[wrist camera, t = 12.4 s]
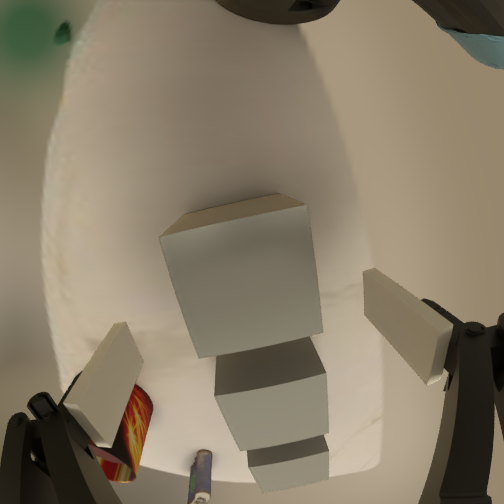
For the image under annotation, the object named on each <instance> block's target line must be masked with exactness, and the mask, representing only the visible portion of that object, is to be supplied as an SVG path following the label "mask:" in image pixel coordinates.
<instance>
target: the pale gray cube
mask: <svg viewBox="0 0 504 504" xmlns="http://www.w3.org/2000/svg"><path fill="white" fill-rule="evenodd" d="M214 396H215V399H216V401H217V403H218V406H219V408H220V410H221V412H222V414H223V417H224V419H225V421H226V423H227V425H228V427H229V430H230V432H231V434H232V436H233V438H234V440H235V442H236V444H237V446H238V448H239V450H240V451H246V450H253V449H259V448H265V447H271V446H276V445H281V444H286V443H291V442H295V441H300V440H304V439H308V438H312V437H316V436H319V435H323V434H327V433H329V420H328V394H327V375H326V371H325V369H324V367H323V364H322V362H321V360H320V358H319V356H318V353H317V351H316V349H315V347H314V345H313V343H312V341H311V338H310V336H308V337H304V338H300V339H296V340H292V341H288V342H283V343H279V344H274V345H270V346H265V347H260V348H256V349H251V350H246V351H240V352H235V353H229V354H224V355H218V356H217V357H216V374H215V393H214Z"/></svg>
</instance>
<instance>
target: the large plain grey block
mask: <svg viewBox="0 0 504 504" xmlns="http://www.w3.org/2000/svg"><path fill="white" fill-rule="evenodd" d="M247 456H248V468H249V470H250V471H251V473H252V475H253V477H254V479H255V481H256V482H257V484H258V486H259V488H260V489H261V491H262V493H266V492H273V491H278V490H284V489H289V488H294V487H299V486H304V485H308V484H312V483H316V482H320V481H324V480H328V479H329V449H328V446H327V443H326V441H325V438H324V435H319V436H316V437H312V438H308V439H304V440H300V441H295V442H291V443H286V444H281V445H276V446H271V447H265V448H259V449H253V450H247Z"/></svg>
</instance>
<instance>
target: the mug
mask: <svg viewBox="0 0 504 504" xmlns="http://www.w3.org/2000/svg"><path fill="white" fill-rule="evenodd" d="M152 412H153V404H152V401H151V399H150V397H149V396H148V395H147V393H146V392H145V391H144V390H143V389H142V388H141V387H139V386H138V385H137V384H135V385H134V387H133V390H132V392H131V395H130V398H129V400H128V403H127V405H126V408H125V411H124V414H123V416H122V419H121V422H120V425H119V428H118V430H117V433H116V436H115V439H114V442H113V445H112V448H107V447H98V446H97V445H96V444H95V443H94V442H93V441H92V439H91V438H90V441H89V443H88V444H89V445H90V447H91V448H92V449H93V451H94V453H95V455H96V458H97V460H98V462H99V464H100V466H101V468H102V469H103V471H104V473H105V475H106V477H107V479H108V480H111V481H115V482H124V483H126V482H132V481H134V480H135V479H136V476H137V472H138V467H139V463H140V459H141V455H142V451H143V446H144V442H145V438H146V435H147V431H148V427H149V423H150V419H151V415H152Z"/></svg>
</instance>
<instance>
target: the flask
mask: <svg viewBox="0 0 504 504" xmlns="http://www.w3.org/2000/svg"><path fill="white" fill-rule="evenodd" d="M207 451H208V450H201V451H199V452H198V453H197V457H196V458H195V463H194V462H193V463H194V465H192V467H191V473H190V482H189V494H188V503H187V504H207V503H208V502H209V500H210V497H211V465H212V453H211V451H208V452H209V453H208V452H207Z"/></svg>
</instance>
